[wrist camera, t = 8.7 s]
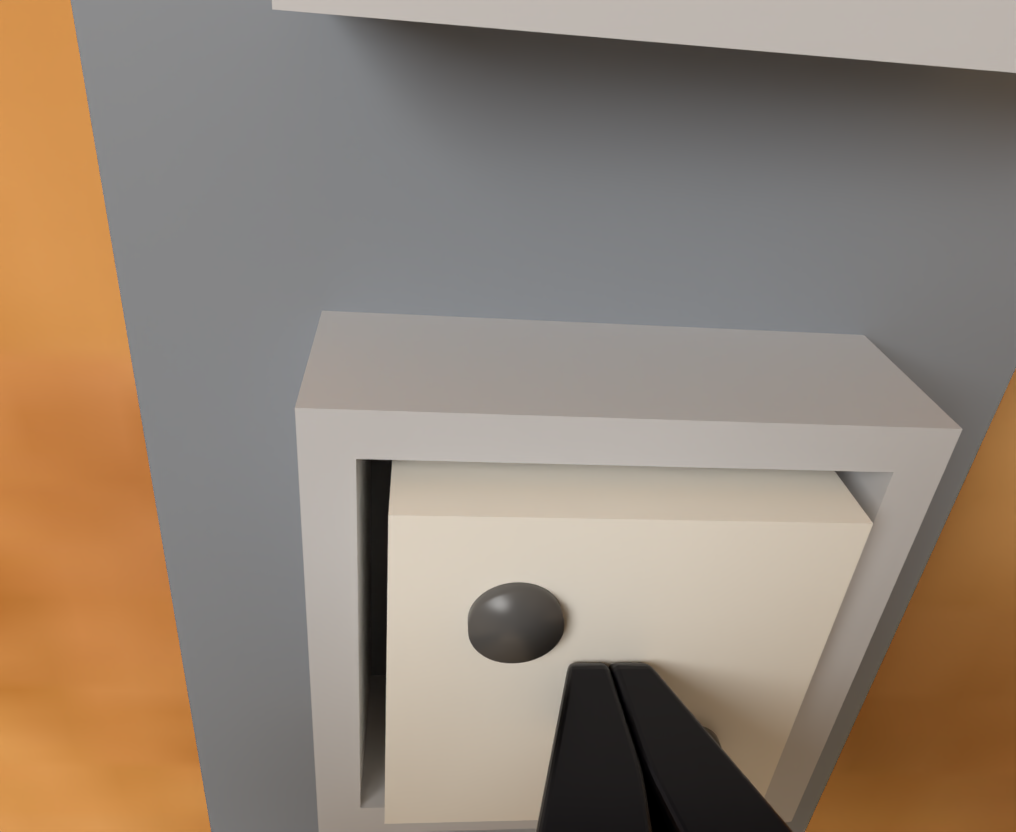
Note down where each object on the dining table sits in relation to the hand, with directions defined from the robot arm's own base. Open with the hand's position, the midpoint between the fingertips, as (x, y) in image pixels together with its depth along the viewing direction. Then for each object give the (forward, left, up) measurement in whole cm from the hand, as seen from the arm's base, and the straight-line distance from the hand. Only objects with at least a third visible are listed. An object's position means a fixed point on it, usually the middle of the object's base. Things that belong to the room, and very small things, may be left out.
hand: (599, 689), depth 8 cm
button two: (0, 0, -2) cm, 2 cm away
